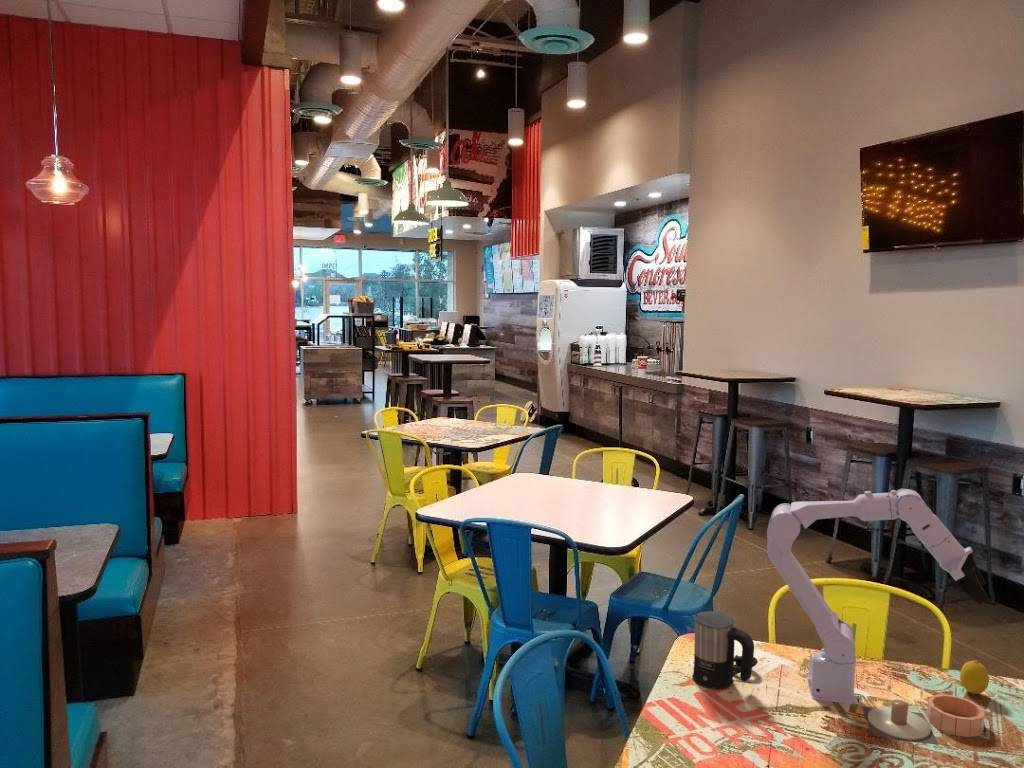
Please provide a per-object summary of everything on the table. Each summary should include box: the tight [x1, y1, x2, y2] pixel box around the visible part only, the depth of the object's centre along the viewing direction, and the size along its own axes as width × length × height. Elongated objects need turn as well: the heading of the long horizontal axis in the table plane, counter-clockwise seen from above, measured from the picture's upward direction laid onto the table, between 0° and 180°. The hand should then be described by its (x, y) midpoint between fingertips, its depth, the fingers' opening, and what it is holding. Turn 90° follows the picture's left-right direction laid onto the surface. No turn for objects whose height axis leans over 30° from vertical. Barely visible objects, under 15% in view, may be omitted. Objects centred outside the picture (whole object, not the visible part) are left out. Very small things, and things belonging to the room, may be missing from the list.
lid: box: [867, 699, 932, 741], centre depth 161 cm, size 12×12×5 cm
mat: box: [861, 705, 940, 745], centre depth 161 cm, size 12×12×1 cm
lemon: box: [959, 659, 990, 695], centre depth 174 cm, size 6×6×8 cm
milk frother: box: [691, 611, 759, 690], centre depth 182 cm, size 14×16×15 cm
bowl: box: [926, 693, 986, 738], centre depth 162 cm, size 10×10×4 cm
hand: (982, 593), depth 161 cm, fingers open, 7 cm apart
